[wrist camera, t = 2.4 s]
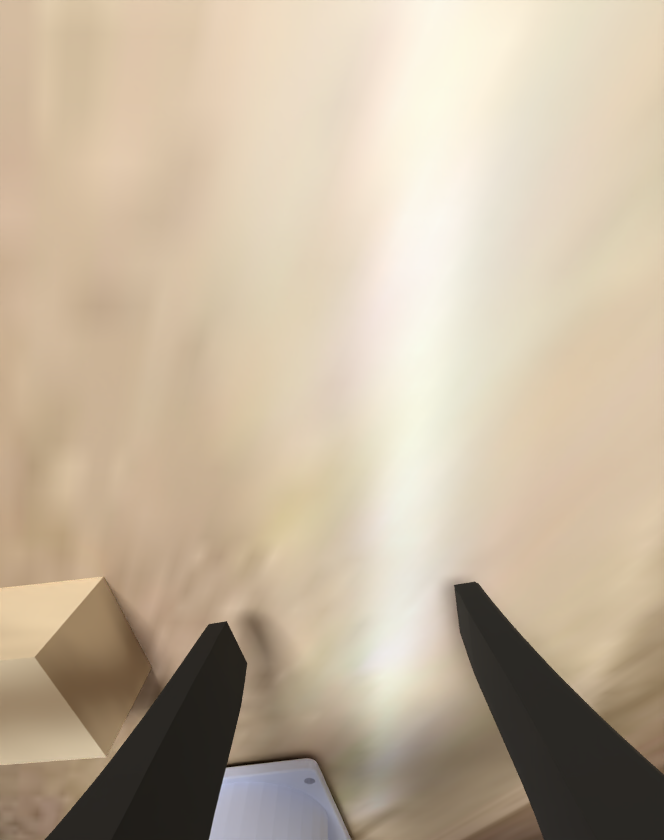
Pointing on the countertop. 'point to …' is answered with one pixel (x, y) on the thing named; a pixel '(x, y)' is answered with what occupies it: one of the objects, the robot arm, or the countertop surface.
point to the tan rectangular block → (65, 671)
